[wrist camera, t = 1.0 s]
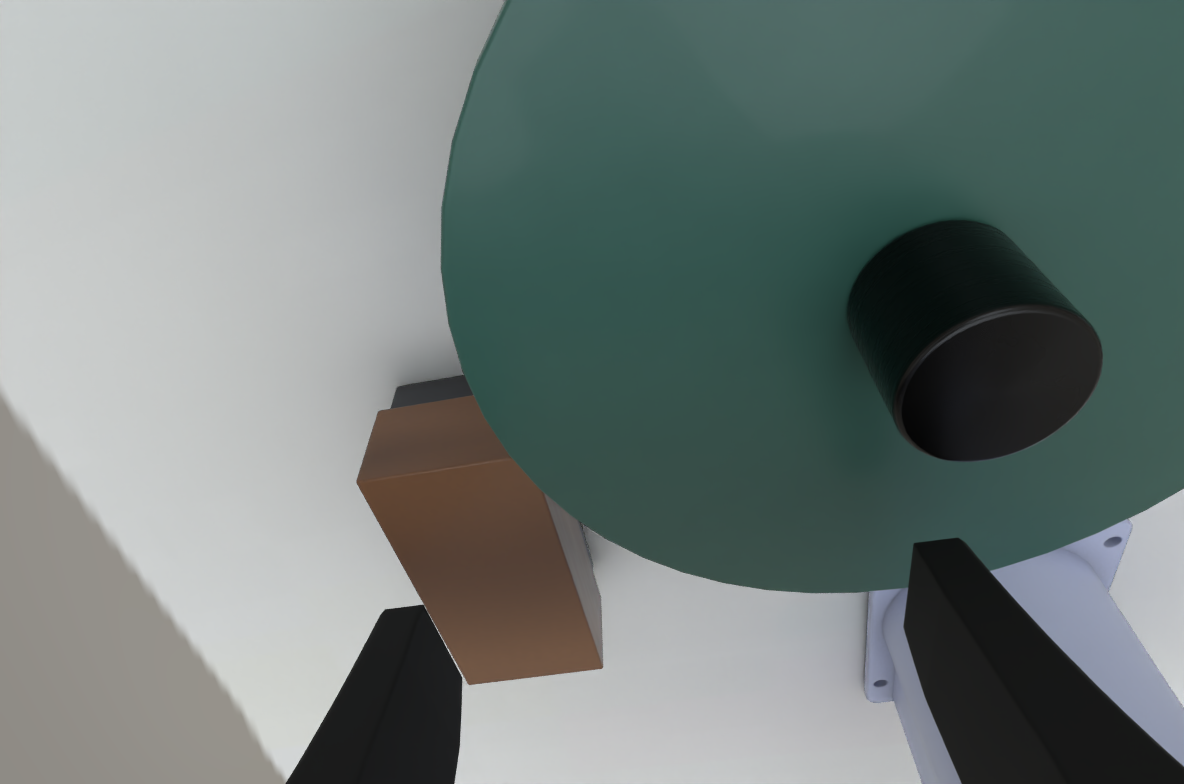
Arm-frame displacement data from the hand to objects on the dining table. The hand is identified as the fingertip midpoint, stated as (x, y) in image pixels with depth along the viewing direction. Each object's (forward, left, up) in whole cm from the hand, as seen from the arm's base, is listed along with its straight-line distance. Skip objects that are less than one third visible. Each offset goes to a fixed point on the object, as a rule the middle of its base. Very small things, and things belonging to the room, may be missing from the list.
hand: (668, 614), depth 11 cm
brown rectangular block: (-6, +5, -10) cm, 12 cm away
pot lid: (+4, -4, -2) cm, 6 cm away
